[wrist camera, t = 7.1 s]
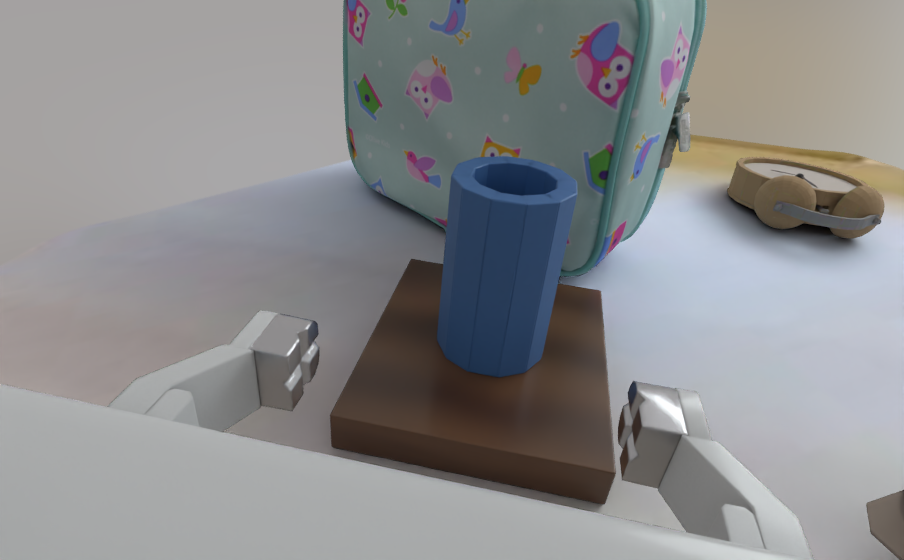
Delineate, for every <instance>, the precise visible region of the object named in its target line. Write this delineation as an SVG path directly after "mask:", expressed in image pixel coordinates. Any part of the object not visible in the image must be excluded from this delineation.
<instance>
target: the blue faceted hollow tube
mask: <svg viewBox="0 0 904 560" xmlns="http://www.w3.org/2000/svg"><path fill="white" fill-rule="evenodd" d="M576 199H577V182H576V180H575V179H573V178H572V177H571V176H569V175H568V174H567V173H565V172H564V171H563V170H561V169H559V168H556V167H553V166H550V165H547V164H544V163H541V162H538V161H535V160H530V159H523V158H516V157H509V156H496V157H478V158H473V159H470V160H467V161H464V162H461V163H458V164H457V165H456V167H455V169H454V171H453V173H452V175H451V182H450V194H449V205H448V216H447V228H446V239H445V251H444V262H443V273H442V285H441V296H440V308H439V319H438V330H437V341H438V343H439V345H440V347H441V349H442V351H443V353H444V355H445V357H446V358H447V359H448V360H450V361H451V362H453V363H455V364H456V365H458V366H459V367H461V368H462V369H464V370H466V371H467V372H472V373H478V374H483V375H488V376H493V377H504V376H510V375H515V374H521V373H525V372H526V371H527V370H529V369H530V368H531V367H532V366H533V365H535V364H536V363H537V362H538V361H539V360H540V359H541V357H542V354H543V349H544V345H545V340H546V336H547V331H548V326H549V322H550V317H551V313H552V308H553V304H554V299H555V295H556V290H557V285H558V281H559V276H560V272H561V267H562V263H563V258H564V254H565V249H566V244H567V240H568V235H569V231H570V226H571V222H572V217H573V213H574V208H575V204H576Z"/></svg>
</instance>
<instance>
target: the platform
mask: <svg viewBox="0 0 904 560" xmlns="http://www.w3.org/2000/svg"><path fill="white" fill-rule="evenodd" d="M442 273H443V264H438V263H433V262H427V261H421V260H415V259H411V260H410V262H409V264H408V266H407V268H406V270H405V272H404V274H403V276H402V278H401V279H400V281H399V283H398V285H397V287H396V289H395V291H394V293H393V295H392V297H391V299H390V301H389V303H388V305H387V306H386V308H385V310H384V312H383V314H382V316H381V318H380V320H379V322H378V324H377V326H376V328H375V330H374V332H373V333H372V335H371V337H370V339H369V341H368V343H367V345H366V347H365V349H364V351H363V353H362V355H361V357H360V359H359V360H358V362H357V364H356V366H355V368H354V370H353V372H352V374H351V376H350V378H349V380H348V382H347V384H346V386H345V387H344V389H343V391H342V393H341V395H340V397H339V399H338V401H337V403H336V405H335V407H334V409H333V411H332V413H331V414H330V422H331V444H332V447H335V448H339V449H344V450H349V451H354V452H358V453H363V454H368V455H372V456H377V457H382V458H387V459H391V460H396V461H401V462H406V463H410V464H415V465H420V466H424V467H429V468H434V469H439V470H443V471H448V472H453V473H458V474H462V475H467V476H472V477H477V478H481V479H486V480H491V481H495V482H500V483H505V484H510V485H514V486H519V487H524V488H529V489H533V490H538V491H543V492H548V493H552V494H557V495H562V496H566V497H571V498H576V499H581V500H585V501H590V502H595V503H600V504H605V502H606V499H607V496H608V494H609V491H610V488H611V485H612V483H613V480H614V477H615V474H616V470H615V458H614V446H613V433H612V421H611V409H610V397H609V385H608V372H607V360H606V348H605V336H604V324H603V311H602V299H601V291H599V290H593V289H587V288H581V287H575V286H569V285H563V284H558V285H557V290H556V295H555V299H554V304H553V308H552V313H551V317H550V322H549V326H548V331H547V336H546V340H545V345H544V349H543V354H542V357H541V359H540V360H539V361H538V362H537V363H536V364H535V365H533V366H532V367H531V368H530V369H529V370H527V371H526V372H525V373H521V374H515V375H510V376H504V377H493V376H488V375H483V374H478V373H472V372H467V371H466V370H464V369H462V368H461V367H459V366H458V365H456V364H455V363H453V362H451V361H450V360H448V359H447V358H446V357H445V355H444V353H443V351H442V349H441V347H440V345H439V343H438V341H437V330H438V319H439V308H440V296H441V285H442Z"/></svg>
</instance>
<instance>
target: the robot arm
mask: <svg viewBox="0 0 904 560" xmlns="http://www.w3.org/2000/svg"><path fill="white" fill-rule="evenodd" d="M317 335H318V324H317V323H316V322H315V321H313V320H309V319H304V318H299V317H294V316H290V315H285V314H279V313H274V312H270V311H265V310H261V311H259V312H257V313H256V314H255V315H254V317H253V318H252V319H251V320H250V321H249V322H248V323H247V325H246V326H245V327H244V328H243V329H242V330H241V331H240V333H239V334H238V335H237V336H236V337H235V338H234V339H233V341H232V342H231V343H230V344H229V345H224V344H223V345H220V346H218V347H215V348H212V349H210V350H207V351H205V352H202V353H200V354H197V355H195V356H192V357H190V358H187V359H185V360H182V361H179V362H177V363H174V364H172V365H169V366H167V367H164V368H162V369H159V370H157V371H154V372H152V373H149V374H146V375H144V376H141V377H139V378H136V379H135V380H134V381H133V382H132V383H131V384H130V385H129V386H128V387H127V388H126V389H125V390H124V391H123V392H122V393H121V394H120V395H119V396H117V397H116V398H115V399H114V400H113V401H112V402H111V403H110V404H109V405H108V406H107V407H106V406H101V405H96V404H92V403H87V402H83V401H78V400H73V399H69V398H64V397H60V396H55V395H50V394H46V393H41V392H36V391H32V390H27V389H23V388H18V387H13V386H9V385H4V384H0V560H814V557H813V555H812V552H811V550H810V547H809V544H808V542H807V539H806V537H805V534H804V532H803V529H802V527H801V524H800V522H799V519H798V517H797V516H796V515H795V514H794V513H793V512H791V511H790V510H789V509H788V508H787V507H786V506H785V505H784V504H783V503H782V502H781V501H780V500H779V499H778V498H777V497H776V496H775V495H774V494H773V493H772V492H771V491H769V490H768V489H767V488H766V487H765V486H764V485H763V484H762V483H761V482H760V481H759V480H758V479H757V478H756V477H755V476H754V475H753V474H752V473H751V472H750V471H749V470H747V469H746V468H745V467H744V466H743V465H742V464H741V463H740V462H739V461H738V460H737V459H736V458H735V457H734V456H733V455H732V454H731V453H730V452H729V451H728V450H727V449H725V448H724V447H723V446H722V445H721V444H720V443H719V442H716V441H713V440H712V437H711V434H710V430H709V427H708V423H707V420H706V417H705V413H704V410H703V406H702V403H701V399H700V396H699V394H698V393H697V392H696V391H690V390H684V389H678V388H675V389H674V388H669V387H663V386H658V385H652V384H647V383H642V382H636V381H633V382H632V384H631V386H630V388H629V391H628V399H629V403H628V404H626V405H625V406H623V409H622V412H621V415H620V420H619V426H618V442H619V445H620V446H621V447H622V448H623V451H622V454H621V457H620V464H621V473H622V480H624V481H628V482H632V483H636V484H641V485H645V486H649V487H653V488H658V491H659V493H660V494H661V495H662V497H663V498H664V500H665V501H666V503H667V504H668V506H669V507H670V508H671V510H672V511H673V513H674V514H675V516H676V517H677V519H678V520H679V522H680V523H681V524H682V526H683V527H684V529H685V530H686V532H683V531H679V530H674V529H669V528H665V527H660V526H656V525H651V524H646V523H642V522H637V521H632V520H627V519H623V518H618V517H613V516H609V515H604V514H599V513H595V512H590V511H586V510H581V509H576V508H572V507H567V506H563V505H558V504H553V503H549V502H544V501H540V500H535V499H530V498H526V497H521V496H517V495H512V494H508V493H503V492H498V491H494V490H489V489H485V488H480V487H475V486H471V485H466V484H461V483H457V482H452V481H447V480H443V479H438V478H433V477H429V476H424V475H419V474H415V473H410V472H405V471H401V470H396V469H392V468H387V467H382V466H378V465H373V464H368V463H364V462H359V461H355V460H350V459H345V458H341V457H336V456H332V455H327V454H322V453H318V452H313V451H308V450H304V449H299V448H295V447H290V446H285V445H281V444H276V443H272V442H267V441H262V440H258V439H253V438H249V437H244V436H239V435H235V434H230V433H225V432H223V431H224V430H226V429H227V428H229V427H231V426H232V425H234V424H235V423H237V422H238V421H240V420H242V419H243V418H245V417H246V416H248V415H249V414H251V413H253V412H254V411H256V410H257V409H259V408H260V407H261V406H266V407H271V408H277V409H283V410H288V411H293V410H294V408H295V406H296V405H297V403H298V401H299V400H300V398H301V397H302V395H303V385H305V384H307V383H309V382H311V380H312V378H313V377H314V375H315V372H316V369H317V366H318V362H319V347H318V345H317V344H316V343H315V341H314V340H315V338H316V337H317Z"/></svg>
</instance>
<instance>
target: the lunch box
mask: <svg viewBox="0 0 904 560" xmlns="http://www.w3.org/2000/svg"><path fill="white" fill-rule="evenodd" d="M706 7H707V3H706V0H344V6H343V8H344V9H343V74H344V103H345V121H346V134H347V142H348V148H349V152H350V157H351V160H352V163H353V165H354V167H355V169H356V171H357V173H358V174H359V176H360V177H361V178H362V180H363V181H364V182H365V183H366V184H367V185H368V186H369V187H371V188H372V189H373V190H375V191H377V192H378V193H380V194H382V195H384V196H386V197H389V198H391V199H393V200H394V201H396V202H398V203H400V204H402V205H404V206H406V207H408V208H410V209H412V210H413V211H415V212H417V213H419V214H421V215H422V216H424V217H426V218H427V219H429V220H431V221H432V222H434V223H436V224H437V225H439V226H441V227H442V228H444V230H445V232H446V228H447V216H448V205H449V194H450V182H451V175H452V173H453V171H454V169H455V167H456V165H457V164H458V163H461V162H464V161H467V160H470V159H473V158H478V157H496V156H509V157H516V158H523V159H530V160H535V161H538V162H541V163H544V164H547V165H550V166H553V167H556V168H559V169H561V170H563V171H564V172H565V173H567V174H568V175H569V176H571V177H572V178H573V179H575V180H576V182H577V199H576V204H575V208H574V213H573V217H572V222H571V226H570V231H569V235H568V240H567V244H566V249H565V254H564V258H563V263H562V267H561V272H560V276H578V275H582V274H585V273H587V272H588V271H590V270H591V269H593V268H594V267H595V266H596V265H597V264H598V263H599V262H600V261H601V260H602V259H603V258H604V257H605V256H606V255H607V254H608V253H609V252H610V251H612V250H613V249H614V247H615V246H616V245H617V244H619V243H620V242H622V241H625V240H626V239H628V238H629V237H631V236H632V235H633V234H634V233H635V232H636V230H637V229H638V228H639V226H640V225H641V223H642V222H643V221H644V219H645V217H646V216H647V214H648V212H649V210H650V208H651V206H652V204H653V202H654V200H655V197H656V195H657V192H658V190H659V186H660V183H661V180H662V177H663V174H664V171H665V168H668V167H669V166H670V163H671V160H672V156H673V154H672V153H673V151H674V148H675V146H676V142H677V139H678V141H679V151H680V152H685V151H689V149H690V117H689V113H688V112H687V113H683V114H682V112H683V108H684V106H685V103H686V102H689V100H690V96H689V95H688V92H687V91H686V89H687V86H688V82H689V78H690V75H691V72H692V69H693V66H694V62H695V58H696V55H697V52H698V48H699V45H700V41H701V37H702V33H703V30H704V26H705V20H706V10H707V8H706Z"/></svg>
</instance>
